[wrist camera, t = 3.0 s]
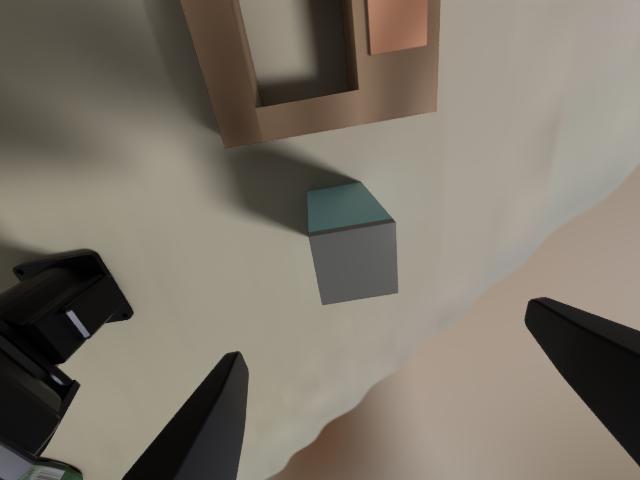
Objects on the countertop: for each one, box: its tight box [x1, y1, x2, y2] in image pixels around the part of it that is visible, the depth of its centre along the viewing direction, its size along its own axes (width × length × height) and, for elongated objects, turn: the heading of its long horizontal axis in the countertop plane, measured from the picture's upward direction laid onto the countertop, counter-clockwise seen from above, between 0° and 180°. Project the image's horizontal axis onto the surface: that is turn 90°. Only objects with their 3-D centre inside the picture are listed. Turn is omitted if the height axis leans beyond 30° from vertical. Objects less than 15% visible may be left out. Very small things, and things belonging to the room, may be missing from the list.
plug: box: [307, 182, 398, 305], centre depth 16 cm, size 4×4×8 cm
